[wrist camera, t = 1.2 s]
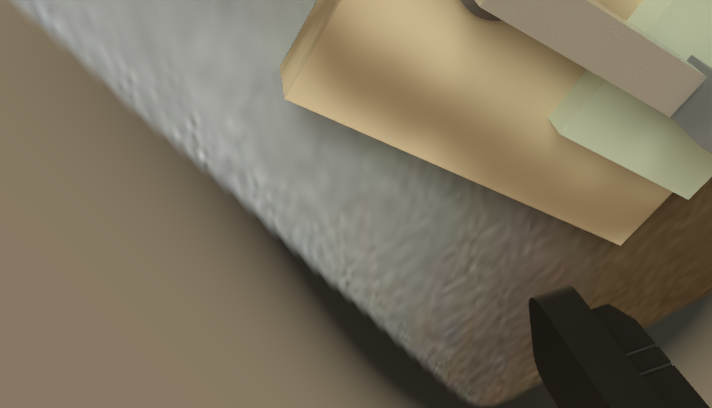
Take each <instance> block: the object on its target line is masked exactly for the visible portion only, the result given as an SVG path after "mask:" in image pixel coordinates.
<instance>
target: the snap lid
mask: <svg viewBox="0 0 712 408" xmlns="http://www.w3.org/2000/svg"><path fill="white" fill-rule="evenodd" d="M627 21H628V22H630V23H631V24H633V25H634V26H636V27H637V28H639V29H640V30H642V31H644V32H645V33H647V34H648V35H650V36H651V37H653V38H654V39H656V40H657V41H659V42H661V43H662V44H664V45H665V46H667V47H668V48H670V49H671V50H673V51H675V52H676V53H678V54H679V55H681V56H682V57H683V58H684V59H685V60H687V61H688V62H689V63H690V64H692V65H693V66H694V67H695V68H696V69H698V70H699V71H700V72H701V73H703V74H704V75H705V76H706V77H707V78H706V79H705V80H704V81H703V82H702V83H701V85H700V86H699V87H698V88H697V89H696V90H695V91H694V92H693V93H692V94H691V95H690V97H689V98H688V99H687V100H686V101H685V102H684V103H683V104H682V105H681V106H680V107H679V109H678V110H677V111H676V112H675V113H674V114H673V115H672V116H671V117H669V116H667V115H665V114H663V113H662V112H660V111H658V110H657V109H655V108H653V107H651V106H650V105H648V104H646V103H644V102H643V101H641V100H639V99H638V98H636V97H634V96H632V95H631V94H629V93H627V92H625V91H624V90H622V89H620V88H619V87H617V86H615V85H613V84H612V83H610V82H608V81H606V80H605V79H603V78H601V77H600V76H598V75H596V74H594V73H593V72H591V71H589V70H586V71H585V73H584V74H583V75H582V76H581V78H580V79H579V80H578V81H577V83H576V84H575V85H574V86H573V87H572V89H571V90H570V91H569V92H568V94H567V95H566V96H565V97H564V99H563V100H562V101H561V102H560V104H559V105H558V106H557V107H556V108H555V110H554V111H553V112H552V113H551V115H550V116H549V117H548V119H549V120H550V121H551V123H552V124H553V125H554V127H555V128H556V129H557V131H558V132H559V133H560V135H562V136H564V137H566V138H568V139H570V140H572V141H574V142H576V143H578V144H580V145H582V146H584V147H586V148H588V149H590V150H592V151H594V152H596V153H598V154H599V155H601V156H603V157H605V158H607V159H609V160H611V161H613V162H615V163H617V164H619V165H621V166H623V167H625V168H627V169H629V170H631V171H633V172H635V173H637V174H639V175H641V176H643V177H645V178H647V179H649V180H650V181H652V182H654V183H656V184H658V185H660V186H662V187H664V188H666V189H668V190H670V191H672V192H674V193H676V194H678V195H680V196H682V197H684V198H686V199H688V200H689V199H690V198H691V197H692V196H693V195H694V194H695V193H696V192H697V191H698V190H699V189H700V188H701V187H702V186H703V185H704V184H705V183H706V182H707V181H708V180H709V179H710V178H711V177H712V0H643V1H642V2H641V4H640V5H639V6H638V7H637V9H636V10H635V11H634V12H633V14H632V15H631V16H630V17H629V18H628V20H627Z"/></svg>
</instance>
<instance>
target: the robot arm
mask: <svg viewBox="0 0 712 408" xmlns="http://www.w3.org/2000/svg"><path fill="white" fill-rule="evenodd" d="M529 313H530V324H531V334H532V345H533V354H534V359H535V363H536V366H537V369H538V372H539V375H540V377H541V379H542V381H543V383H544V385H545V387H546V388H547V390H548V392H549V394H550V395H551V397H552V399H553V400H554V402H555V404H556V405H557V407H558V408H709V406H708V405H707V404H706V403H705V402H704V400H703V399H702V398H701V397H700V396H699V394H698V393H697V392H696V391H695V390H694V388H693V387H692V386H691V385H690V384H689V382H688V381H687V380H686V379H685V378H684V377H683V375H682V374H681V373H680V372H679V371H678V369H677V368H676V367H675V366H672V364H671V362H670V360H669V359H668V357H667V356H666V355H665V354H664V353H663V352H662V350H661V349H660V348H659V347H656V345H655V342H654V341H653V340H652V338H651V337H650V336H649V335H648V334H647V333H646V331H645V330H644V329H643V328H642V327H641V325H640V324H639V323H638V322H637V321H636V320H635V319H633V318H632V317H630V316H628V315H627V314H625V313H623V312H621V311H620V310H618V309H616V308H615V307H613V306H611V305H609V304H607V305H604V306H601V307H598V308H595V309H592V310H591V309H590V308H589V306H588V305H587V304H586V302H585V301H584V300H583V299H582V297H581V296H580V295H579V293H578V292H577V291H576V290H575V289H574V288H573V287H571V286H565V287H562V288H559V289H556V290H553V291H550V292H547V293H544V294H541V295H538V296H535V297H532V298H530V299H529Z"/></svg>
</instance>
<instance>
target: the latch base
mask: <svg viewBox="0 0 712 408" xmlns="http://www.w3.org/2000/svg"><path fill="white" fill-rule="evenodd" d="M595 1H597V2H599V3H600V4H602V5H603V6H605V7H606V8H608V9H609V10H611V11H612V12H614V13H616V14H617V15H619V16H620V17H622V18H623V19H625V20H626V21H627V20H628V18H629V17H630V16H631V15H632V14H633V12H634V11H635V10H636V9H637V7H638V6H639V5H640V4H641V2H642V1H643V0H595ZM586 70H587V69H586V68H584V67H582V66H581V65H579V64H577V63H575V62H574V61H572V60H570V59H568V58H567V57H565V56H563V55H562V54H560V53H558V52H556V51H555V50H553V49H551V48H549V47H548V46H546V45H544V44H543V43H541V42H539V41H537V40H536V39H534V38H532V37H531V36H529V35H527V34H525V33H524V32H522V31H520V30H518V29H517V28H515V27H513V26H512V25H510V24H508V23H506V22H505V21H503V20H501V19H499V18H498V17H496V16H494V15H493V14H491V13H489V12H487V11H486V10H484V9H482V8H480V7H479V5H478V4H477V3H476V2H475V0H317V2H316V4H315V5H314V7H313V9H312V11H311V13H310V14H309V16H308V18H307V20H306V22H305V23H304V25H303V27H302V29H301V31H300V32H299V34H298V36H297V38H296V40H295V41H294V43H293V45H292V47H291V49H290V50H289V52H288V54H287V56H286V57H285V59H284V61H283V63H282V65H281V66H280V71H281V78H282V84H283V90H284V97H285V99H286V100H288V101H291V102H293V103H295V104H297V105H300V106H302V107H304V108H307V109H309V110H311V111H313V112H316V113H318V114H320V115H323V116H325V117H327V118H330V119H332V120H334V121H336V122H339V123H341V124H343V125H346V126H348V127H350V128H352V129H355V130H357V131H359V132H362V133H364V134H366V135H368V136H371V137H373V138H375V139H378V140H380V141H382V142H384V143H387V144H389V145H391V146H394V147H396V148H398V149H400V150H403V151H405V152H407V153H410V154H412V155H414V156H416V157H419V158H421V159H423V160H426V161H428V162H430V163H433V164H435V165H437V166H439V167H442V168H444V169H446V170H449V171H451V172H453V173H455V174H458V175H460V176H462V177H465V178H467V179H469V180H471V181H474V182H476V183H478V184H481V185H483V186H485V187H487V188H490V189H492V190H494V191H497V192H499V193H501V194H503V195H506V196H508V197H510V198H513V199H515V200H517V201H519V202H522V203H524V204H526V205H529V206H531V207H533V208H536V209H538V210H540V211H542V212H545V213H547V214H549V215H552V216H554V217H556V218H558V219H561V220H563V221H565V222H568V223H570V224H572V225H574V226H577V227H579V228H581V229H584V230H586V231H588V232H590V233H593V234H595V235H597V236H600V237H602V238H604V239H606V240H609V241H611V242H613V243H616V244H618V245H620V246H621V245H622V244H623V243H624V241H625V240H626V239H627V238H628V237H629V236H630V235H631V234H632V233H633V232H634V231H635V230H636V229H637V228H638V227H639V226H640V225H641V224H642V223H643V222H644V221H645V220H646V219H647V218H648V217H649V216H650V215H651V214H652V213H653V212H654V211H655V210H656V209H657V208H658V207H659V206H660V205H661V204H662V203H663V202H664V201H665V200H666V199H667V198H668V197H669V196H670V195H671V194H672V193H673V192H672V191H670V190H668V189H666V188H664V187H662V186H660V185H658V184H656V183H654V182H652V181H650V180H649V179H647V178H645V177H643V176H641V175H639V174H637V173H635V172H633V171H631V170H629V169H627V168H625V167H623V166H621V165H619V164H617V163H615V162H613V161H611V160H609V159H607V158H605V157H603V156H601V155H599V154H598V153H596V152H594V151H592V150H590V149H588V148H586V147H584V146H582V145H580V144H578V143H576V142H574V141H572V140H570V139H568V138H566V137H564V136H562V135H560V133H559V132H558V131H557V129H556V128H555V127H554V125H553V124H552V123H551V121H550V120H549V119H548V117H549V116H550V115H551V113H552V112H553V111H554V110H555V108H556V107H557V106H558V105H559V104H560V102H561V101H562V100H563V99H564V97H565V96H566V95H567V94H568V92H569V91H570V90H571V89H572V87H573V86H574V85H575V84H576V83H577V81H578V80H579V79H580V78H581V76H582V75H583V74H584V73H585V71H586Z"/></svg>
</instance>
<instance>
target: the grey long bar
mask: <svg viewBox="0 0 712 408" xmlns="http://www.w3.org/2000/svg"><path fill="white" fill-rule="evenodd" d="M475 2H476V3H477V4H478V5H479V7H480V8H482V9H484V10H486V11H487V12H489V13H491V14H493V15H494V16H496V17H498V18H499V19H501V20H503V21H505V22H506V23H508V24H510V25H512V26H513V27H515V28H517V29H518V30H520V31H522V32H524V33H525V34H527V35H529V36H531V37H532V38H534V39H536V40H537V41H539V42H541V43H543V44H544V45H546V46H548V47H549V48H551V49H553V50H555V51H556V52H558V53H560V54H562V55H563V56H565V57H567V58H568V59H570V60H572V61H574V62H575V63H577V64H579V65H581V66H582V67H584V68H586V69H587V70H589V71H591V72H593V73H594V74H596V75H598V76H600V77H601V78H603V79H605V80H606V81H608V82H610V83H612V84H613V85H615V86H617V87H619V88H620V89H622V90H624V91H625V92H627V93H629V94H631V95H632V96H634V97H636V98H638V99H639V100H641V101H643V102H644V103H646V104H648V105H650V106H651V107H653V108H655V109H657V110H658V111H660V112H662V113H663V114H665V115H667V116H669V117H671V116H672V115H673V114H674V113H675V112H676V111H677V110H678V109H679V107H680V106H681V105H682V104H683V103H684V102H685V101H686V100H687V99H688V98H689V97H690V95H691V94H692V93H693V92H694V91H695V90H696V89H697V88H698V87H699V86H700V85H701V83H702V82H703V81H704V80H705V79H706V78H707V77H706V76H705V75H704V74H703V73H701V72H700V71H699V70H698V69H696V68H695V67H694V66H693V65H692V64H690V63H689V62H688V61H687V60H685V59H684V58H683V57H682V56H681V55H679V54H678V53H676V52H675V51H673V50H671V49H670V48H668V47H667V46H665V45H664V44H662V43H661V42H659V41H657V40H656V39H654V38H653V37H651V36H650V35H648V34H647V33H645V32H644V31H642V30H640V29H639V28H637V27H636V26H634V25H633V24H631V23H630V22H628V21H626V20H625V19H623V18H622V17H620V16H619V15H617V14H616V13H614V12H612V11H611V10H609V9H608V8H606V7H605V6H603V5H602V4H600V3H599V2H597V1H595V0H475Z"/></svg>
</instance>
